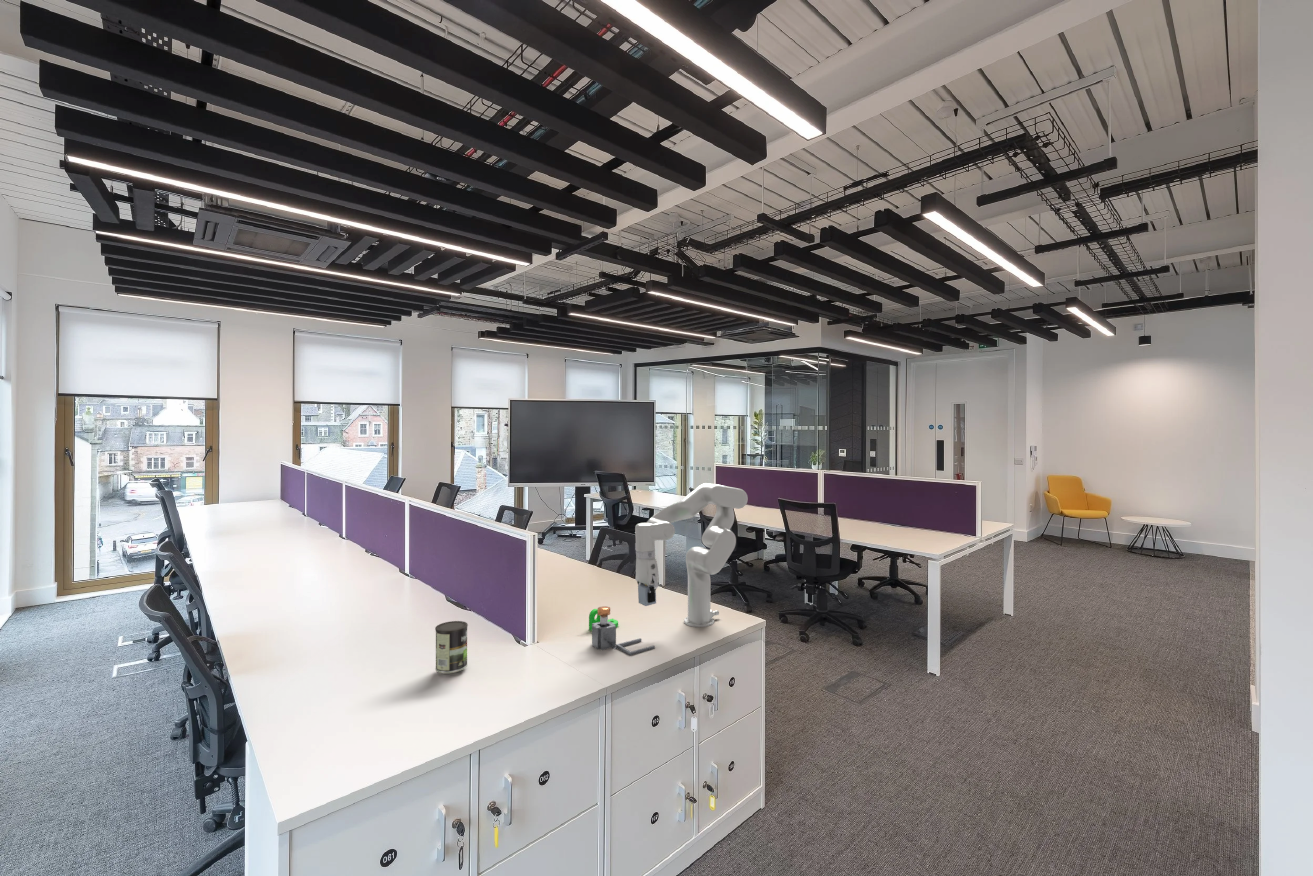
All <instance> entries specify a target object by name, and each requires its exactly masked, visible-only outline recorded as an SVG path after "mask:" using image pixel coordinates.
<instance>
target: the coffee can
mask: <svg viewBox="0 0 1313 876" xmlns="http://www.w3.org/2000/svg"><path fill="white" fill-rule="evenodd" d="M468 626H469V624H468V622H466V621H462V620H453V621H452V620H451V621H445V622H442V623H439V624H437V625H436V626H434V628H435V629H434V630H435V668H434V669H435V671H436V672H437V673H439V674H453V673H458V672H460V671H463V670H465V669H466V668H467V667H468Z"/></svg>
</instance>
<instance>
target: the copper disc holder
mask: <svg viewBox="0 0 1313 876" xmlns="http://www.w3.org/2000/svg"><path fill="white" fill-rule="evenodd" d="M616 644H617V627H616V626H615V624H614V623H612V622H608V626H606V627H600V622H597V623H592V631H591V646H592V647H593V648H595V649H596V650H601V651H605V650H608V649H613V648H612V647H616Z"/></svg>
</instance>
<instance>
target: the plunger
mask: <svg viewBox="0 0 1313 876" xmlns="http://www.w3.org/2000/svg"><path fill="white" fill-rule="evenodd" d="M597 609H598V615H600V627H606V626H608V620H609V619H608V616H610V615H611V607H610V606H599V607H597Z"/></svg>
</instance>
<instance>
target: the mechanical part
mask: <svg viewBox="0 0 1313 876" xmlns="http://www.w3.org/2000/svg"><path fill="white" fill-rule="evenodd" d="M595 617H596V618H595ZM597 622H600V615H598V608H593V609H592V610H590V612H589V616H588V630H589V631H591V632H592V623H597ZM608 622H612V623H614V624H615V626H616V628H618V627H619V621H618V620H617V619H615V618H610V619H608Z"/></svg>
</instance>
